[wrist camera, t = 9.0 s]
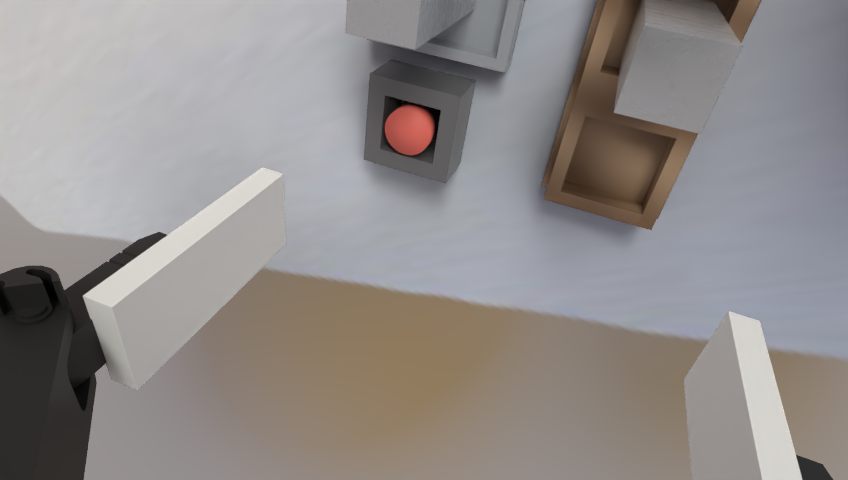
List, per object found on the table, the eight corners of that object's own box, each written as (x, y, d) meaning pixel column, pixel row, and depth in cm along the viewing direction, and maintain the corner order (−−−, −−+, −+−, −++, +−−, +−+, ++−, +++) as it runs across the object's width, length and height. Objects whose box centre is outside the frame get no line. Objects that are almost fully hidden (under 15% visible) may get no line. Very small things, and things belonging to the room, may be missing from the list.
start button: (394, 97, 39) (387, 103, 38) (439, 109, 39) (433, 115, 38) (390, 140, 42) (382, 148, 40) (432, 152, 41) (426, 160, 40)
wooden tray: (616, -59, 32) (613, -55, 30) (771, -31, 30) (782, -24, 28) (543, 180, 42) (537, 197, 40) (657, 212, 40) (658, 231, 38)
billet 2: (645, -14, 32) (645, 25, 23) (713, 0, 31) (742, 46, 22) (622, 52, 34) (613, 112, 25) (684, 66, 34) (700, 134, 24)
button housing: (390, 60, 41) (369, 73, 38) (475, 80, 40) (461, 97, 37) (383, 140, 45) (363, 159, 42) (460, 162, 44) (445, 183, 41)
